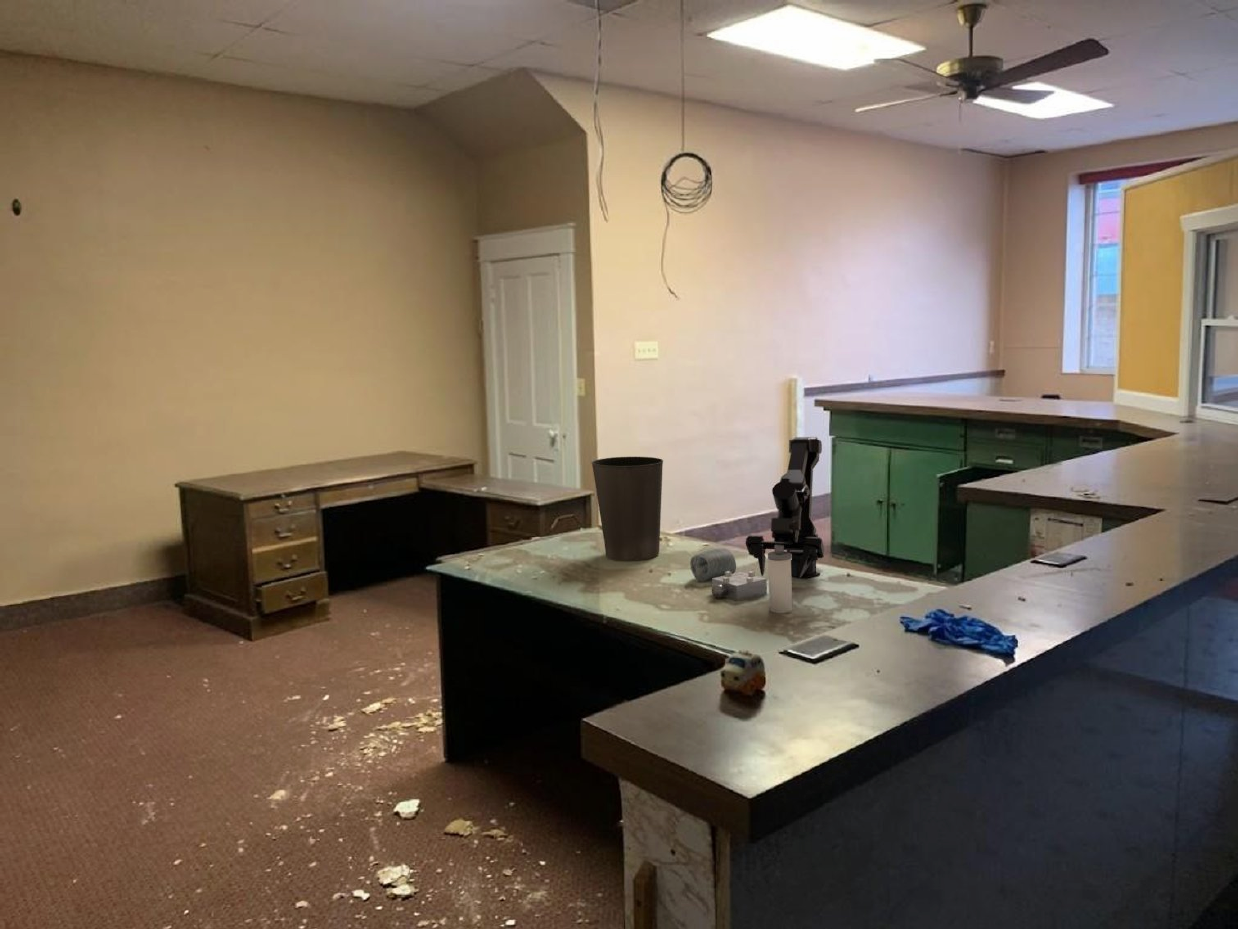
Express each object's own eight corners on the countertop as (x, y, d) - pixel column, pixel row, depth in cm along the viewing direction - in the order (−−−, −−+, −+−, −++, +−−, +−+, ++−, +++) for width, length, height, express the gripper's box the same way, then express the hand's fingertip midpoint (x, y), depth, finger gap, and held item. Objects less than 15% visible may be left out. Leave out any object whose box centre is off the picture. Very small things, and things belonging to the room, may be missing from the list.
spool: (702, 575, 249) (699, 540, 253) (685, 584, 257) (682, 550, 261) (745, 579, 255) (741, 545, 259) (726, 588, 262) (723, 555, 266)
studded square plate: (741, 586, 248) (741, 568, 248) (766, 593, 240) (766, 575, 239) (703, 595, 241) (702, 576, 241) (727, 603, 233) (727, 584, 232)
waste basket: (582, 553, 298) (577, 460, 294) (636, 543, 308) (631, 453, 304) (627, 568, 275) (621, 468, 271) (683, 557, 285) (678, 460, 281)
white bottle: (781, 605, 229) (779, 542, 227) (797, 610, 224) (795, 545, 222) (765, 609, 226) (762, 545, 224) (780, 614, 221) (778, 549, 219)
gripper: (746, 503, 231) (736, 556, 222) (821, 504, 224) (814, 559, 215) (754, 528, 239) (745, 580, 230) (827, 530, 232) (820, 584, 224)
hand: (780, 575), depth 225 cm, fingers open, 9 cm apart
